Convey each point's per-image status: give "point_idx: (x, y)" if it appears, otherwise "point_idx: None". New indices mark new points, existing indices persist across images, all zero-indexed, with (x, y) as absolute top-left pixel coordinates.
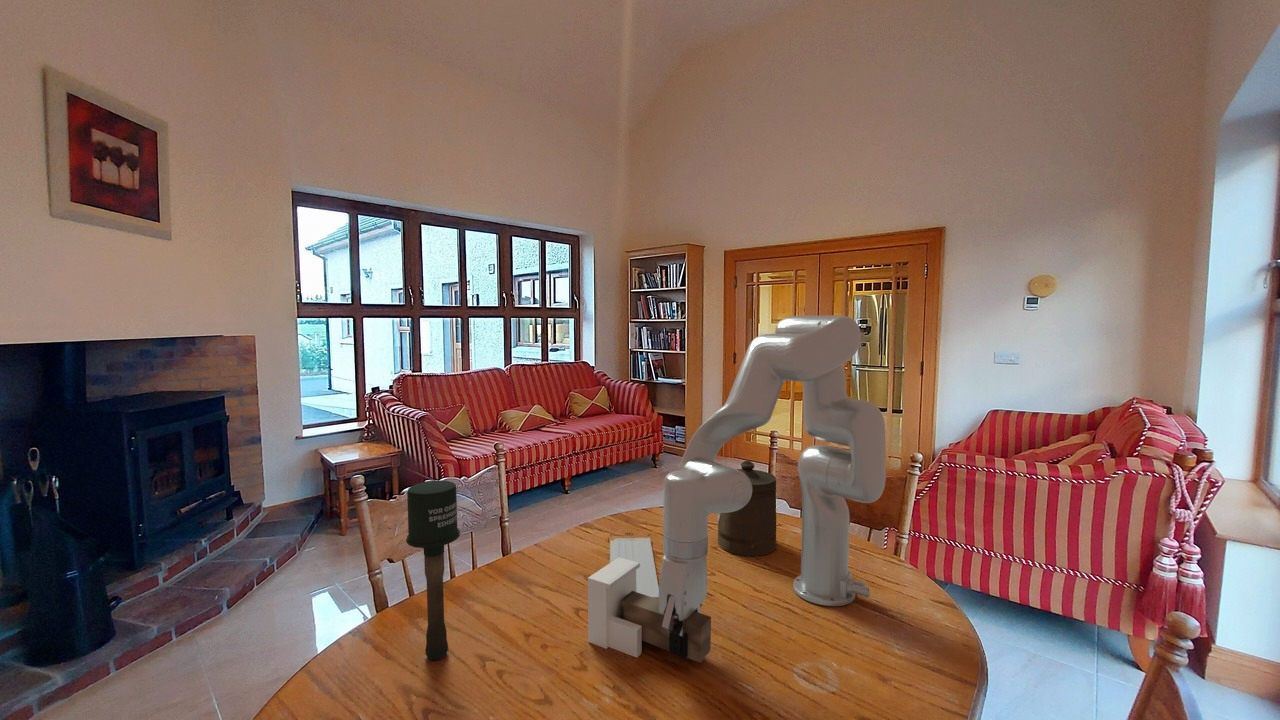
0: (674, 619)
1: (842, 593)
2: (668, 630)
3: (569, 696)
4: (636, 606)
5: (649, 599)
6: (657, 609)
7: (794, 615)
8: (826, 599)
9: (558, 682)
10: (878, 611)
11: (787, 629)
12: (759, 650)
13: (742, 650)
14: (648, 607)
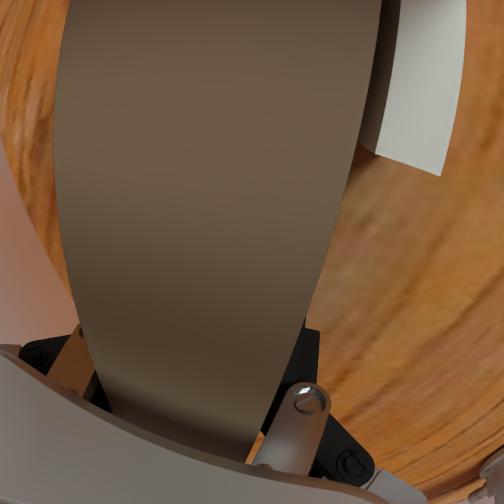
0: (96, 385)
1: (489, 479)
2: (54, 337)
3: (5, 60)
4: (70, 27)
5: (277, 77)
6: (107, 268)
7: (473, 443)
8: (490, 467)
9: (27, 6)
10: (457, 487)
11: (429, 448)
12: (346, 429)
13: (339, 408)
14: (84, 161)
